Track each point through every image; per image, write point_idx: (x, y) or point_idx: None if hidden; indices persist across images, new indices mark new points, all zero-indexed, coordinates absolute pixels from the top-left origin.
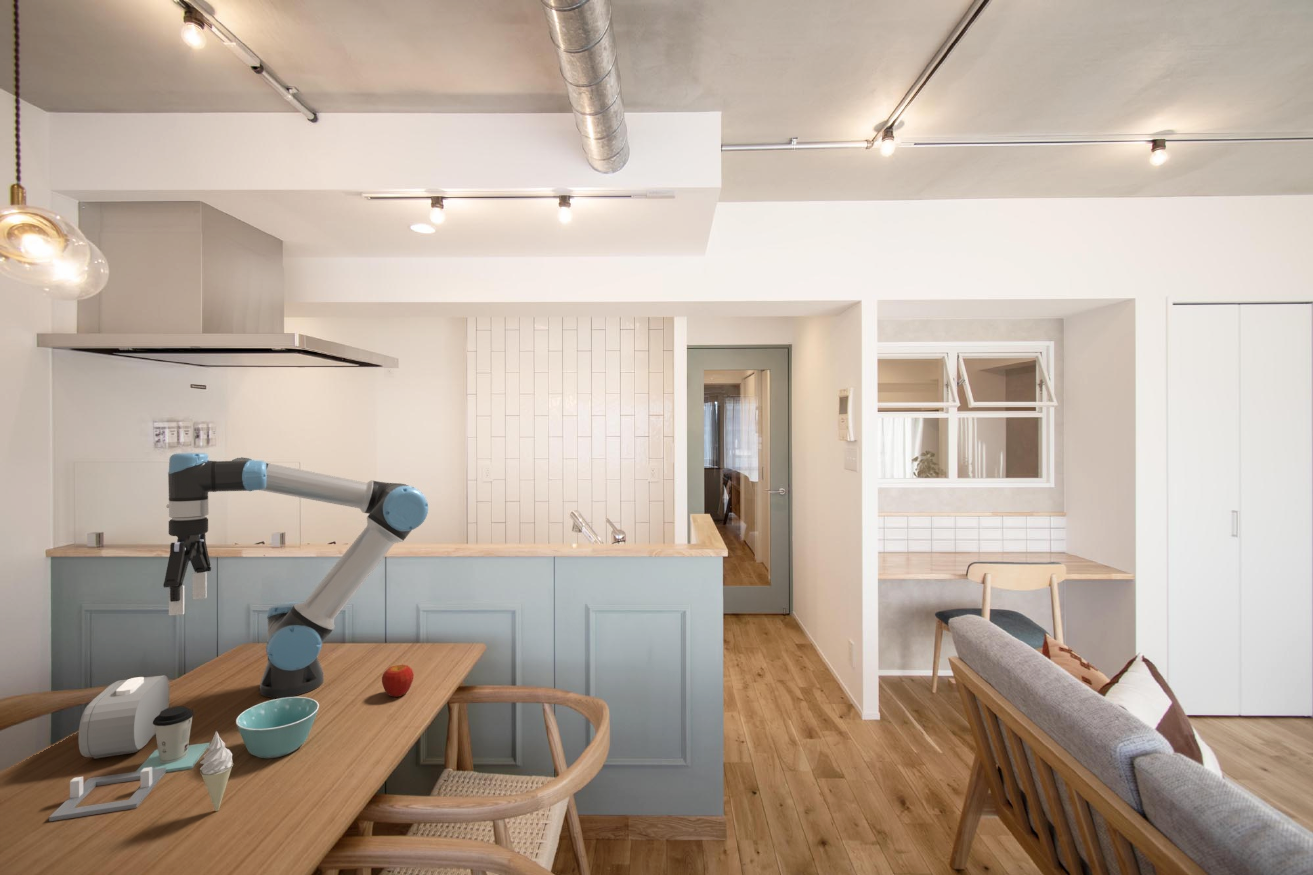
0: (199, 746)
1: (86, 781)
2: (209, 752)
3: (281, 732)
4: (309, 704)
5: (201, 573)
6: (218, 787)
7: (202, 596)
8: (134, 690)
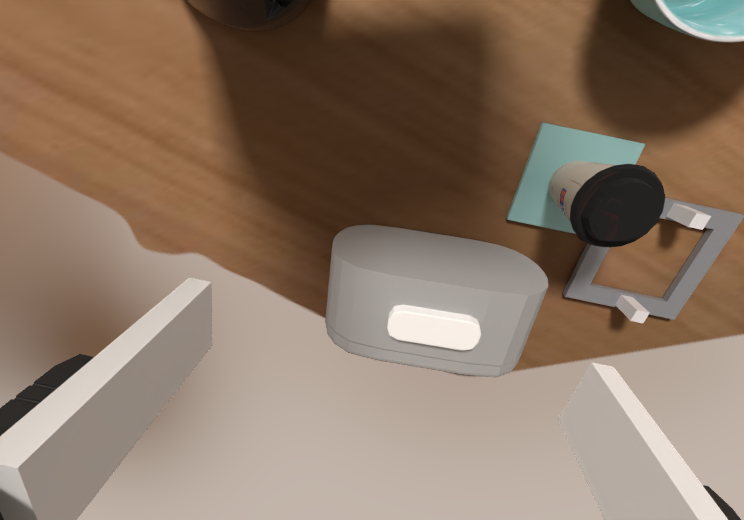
0: (550, 141)
1: (576, 297)
2: None
3: None
4: None
5: (34, 490)
6: None
7: (202, 307)
8: (462, 314)
